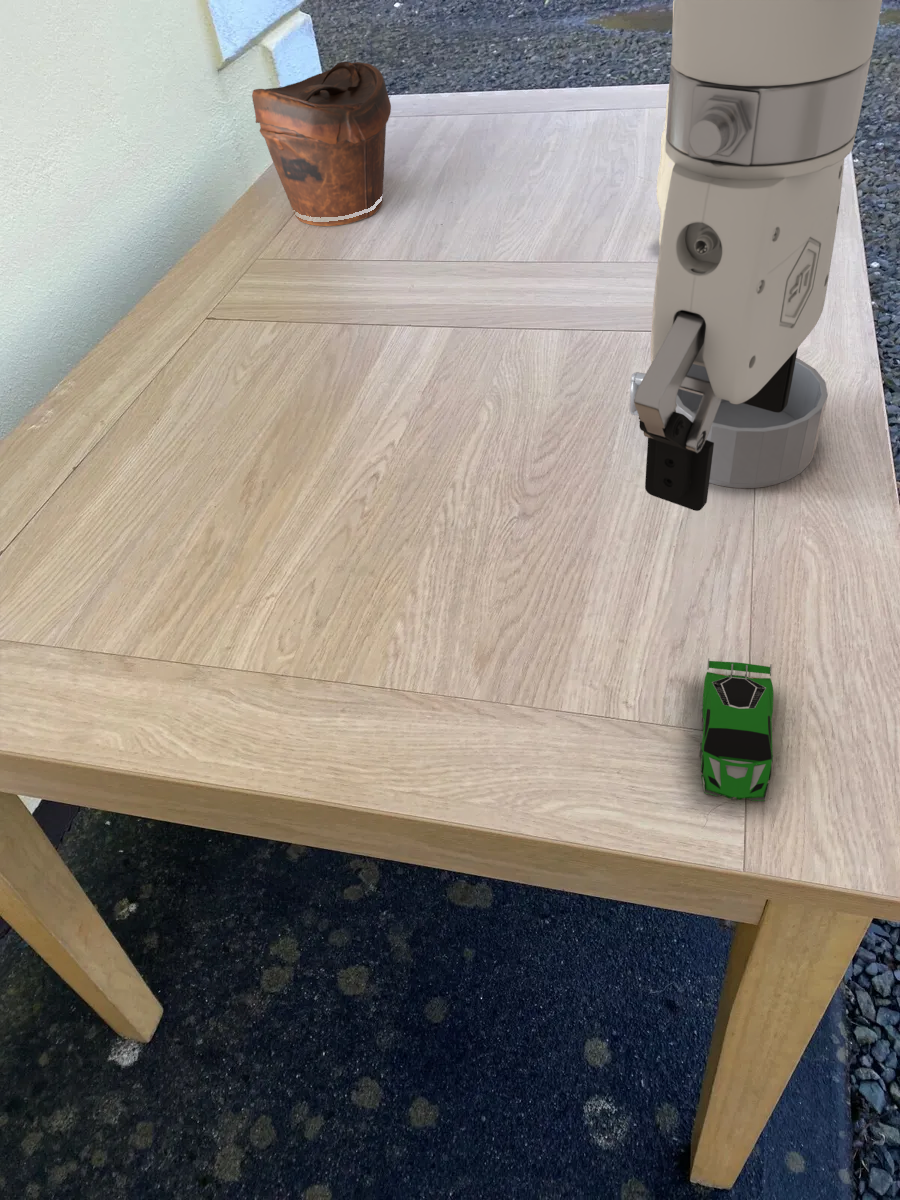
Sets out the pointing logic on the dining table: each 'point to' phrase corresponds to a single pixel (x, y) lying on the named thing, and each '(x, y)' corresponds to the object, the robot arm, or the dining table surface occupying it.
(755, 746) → the toy car
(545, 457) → the dining table surface
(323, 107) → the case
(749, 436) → the measuring cup
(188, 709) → the dining table surface
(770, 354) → the robot arm
